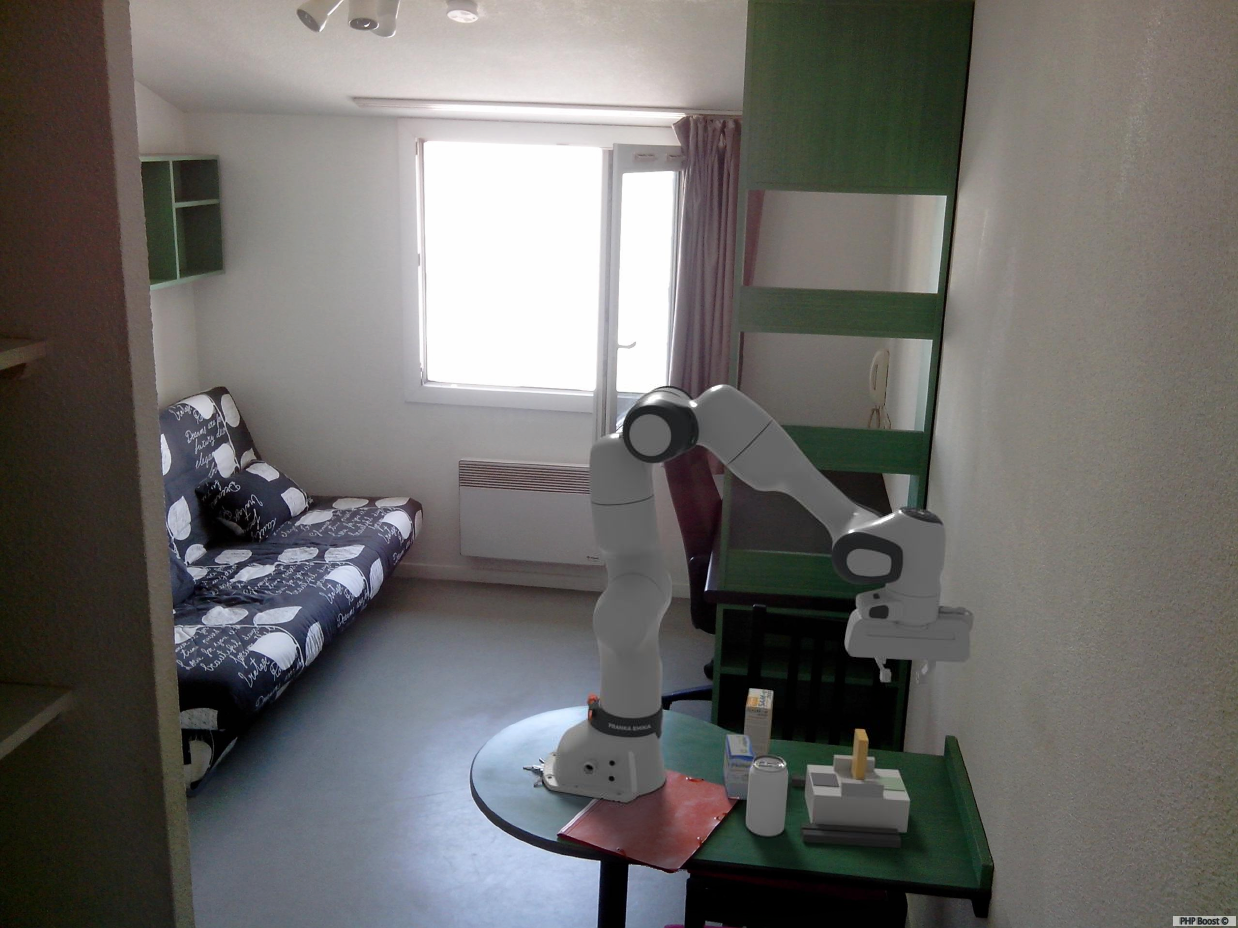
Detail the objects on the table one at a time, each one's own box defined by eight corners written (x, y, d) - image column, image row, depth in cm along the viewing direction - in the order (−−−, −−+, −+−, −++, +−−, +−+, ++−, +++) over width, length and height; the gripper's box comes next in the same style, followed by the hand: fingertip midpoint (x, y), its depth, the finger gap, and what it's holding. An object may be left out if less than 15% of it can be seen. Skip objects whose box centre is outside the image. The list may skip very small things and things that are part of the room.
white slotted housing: (811, 826, 179) (815, 781, 177) (804, 794, 188) (808, 752, 186) (906, 832, 178) (911, 787, 176) (894, 800, 188) (899, 757, 186)
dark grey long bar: (791, 785, 191) (792, 778, 191) (791, 781, 192) (791, 774, 192) (880, 791, 190) (881, 784, 190) (879, 787, 192) (879, 780, 191)
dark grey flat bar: (802, 841, 174) (803, 834, 174) (800, 829, 177) (801, 822, 177) (900, 847, 173) (901, 840, 173) (896, 835, 177) (897, 828, 176)
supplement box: (766, 773, 195) (771, 709, 192) (740, 770, 196) (745, 705, 193) (769, 752, 203) (774, 689, 200) (744, 749, 204) (748, 686, 201)
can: (783, 840, 174) (789, 774, 172) (744, 835, 175) (749, 770, 173) (784, 818, 181) (789, 755, 178) (746, 814, 182) (750, 751, 179)
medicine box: (722, 776, 194) (725, 733, 192) (746, 776, 194) (749, 733, 192) (727, 799, 186) (730, 755, 184) (752, 800, 186) (755, 755, 184)
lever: (855, 789, 179) (859, 742, 177) (850, 772, 184) (854, 726, 182) (864, 789, 179) (869, 742, 177) (859, 772, 184) (863, 726, 182)
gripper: (969, 600, 176) (960, 677, 180) (847, 594, 177) (840, 670, 180) (980, 614, 170) (970, 693, 173) (853, 608, 171) (845, 686, 174)
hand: (903, 681), depth 177 cm, fingers open, 5 cm apart
